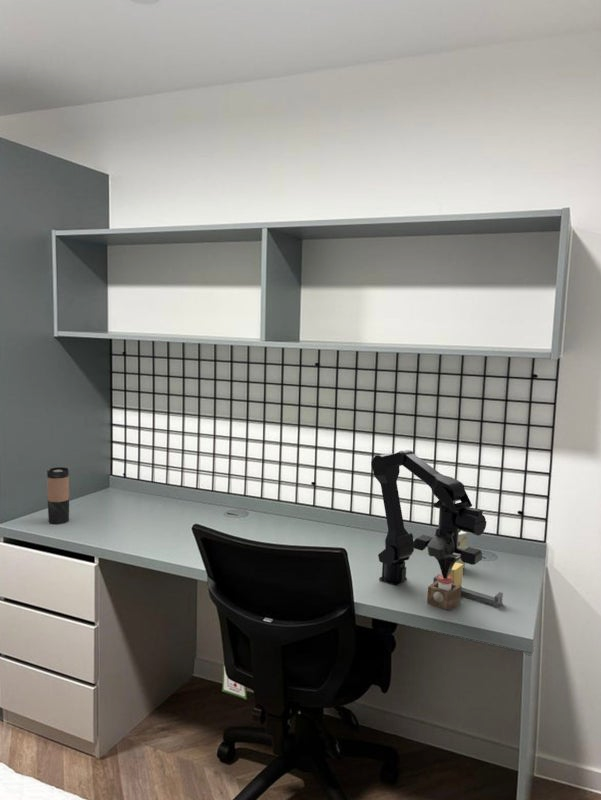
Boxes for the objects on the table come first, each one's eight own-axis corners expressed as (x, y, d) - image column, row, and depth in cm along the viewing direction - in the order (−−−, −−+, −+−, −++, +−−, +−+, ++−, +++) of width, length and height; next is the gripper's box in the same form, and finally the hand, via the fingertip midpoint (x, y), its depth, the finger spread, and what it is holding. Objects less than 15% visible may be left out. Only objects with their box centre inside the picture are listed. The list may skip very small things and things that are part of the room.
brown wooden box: (426, 603, 183) (427, 586, 182) (438, 595, 189) (439, 578, 188) (449, 611, 179) (450, 594, 178) (460, 602, 185) (461, 585, 184)
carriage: (440, 590, 191) (442, 566, 190) (449, 584, 196) (450, 560, 195) (452, 594, 189) (454, 570, 188) (461, 588, 193) (463, 564, 192)
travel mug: (72, 522, 242) (71, 470, 239) (52, 525, 237) (51, 473, 234) (65, 516, 248) (64, 466, 245) (45, 520, 243) (43, 468, 240)
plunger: (433, 600, 184) (434, 578, 183) (440, 595, 187) (441, 573, 186) (447, 605, 181) (449, 582, 180) (454, 600, 184) (455, 577, 183)
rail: (432, 587, 194) (433, 577, 194) (438, 584, 197) (438, 574, 196) (497, 608, 182) (498, 597, 181) (502, 603, 185) (502, 593, 184)
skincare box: (452, 572, 206) (454, 535, 205) (441, 567, 210) (444, 531, 208) (465, 568, 210) (467, 532, 208) (454, 563, 213) (457, 528, 212)
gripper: (405, 524, 180) (402, 577, 182) (468, 540, 169) (464, 596, 171) (424, 515, 189) (420, 566, 191) (484, 530, 178) (480, 583, 180)
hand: (445, 577), depth 183 cm, fingers closed, pressing on plunger
